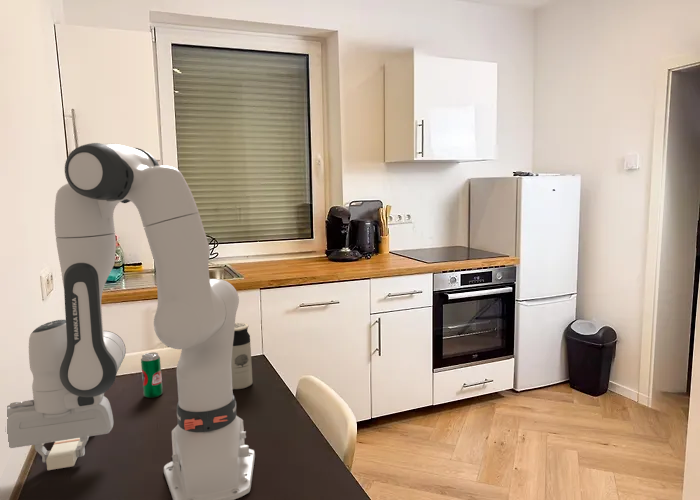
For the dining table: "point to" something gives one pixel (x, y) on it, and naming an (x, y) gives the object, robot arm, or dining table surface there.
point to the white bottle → (241, 357)
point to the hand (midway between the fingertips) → (64, 457)
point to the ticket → (63, 454)
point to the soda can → (151, 375)
